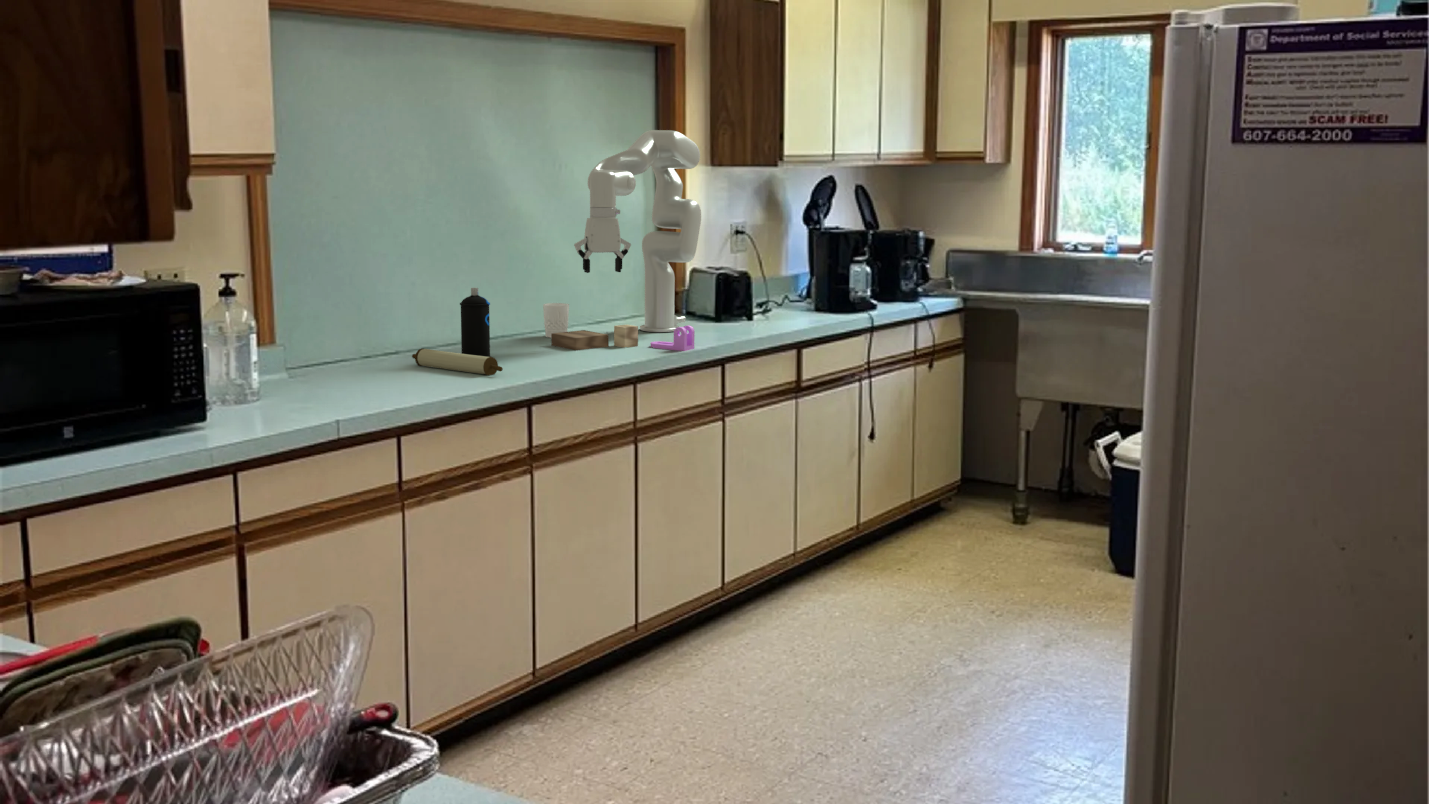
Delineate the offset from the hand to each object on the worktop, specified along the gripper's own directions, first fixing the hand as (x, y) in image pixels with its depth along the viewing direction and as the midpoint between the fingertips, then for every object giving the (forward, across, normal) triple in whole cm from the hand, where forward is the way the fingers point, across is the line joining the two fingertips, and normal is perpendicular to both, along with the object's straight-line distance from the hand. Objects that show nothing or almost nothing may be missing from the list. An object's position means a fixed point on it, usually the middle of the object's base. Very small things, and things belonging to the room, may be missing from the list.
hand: (602, 272), depth 404 cm
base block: (+22, +7, 0) cm, 23 cm away
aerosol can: (+22, +42, +16) cm, 51 cm away
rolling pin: (+23, +51, +30) cm, 64 cm away
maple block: (+22, -6, +4) cm, 23 cm away
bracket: (+22, -17, +12) cm, 30 cm away
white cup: (+22, +7, -21) cm, 32 cm away
